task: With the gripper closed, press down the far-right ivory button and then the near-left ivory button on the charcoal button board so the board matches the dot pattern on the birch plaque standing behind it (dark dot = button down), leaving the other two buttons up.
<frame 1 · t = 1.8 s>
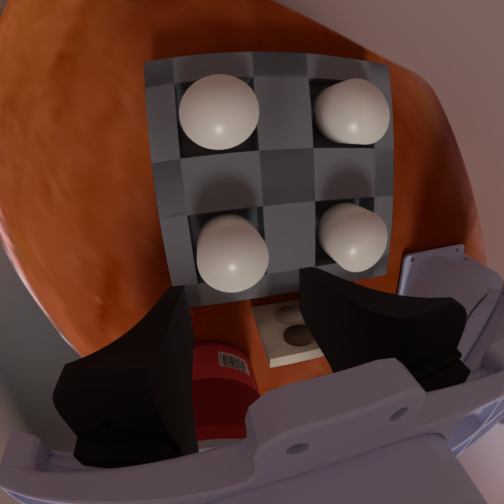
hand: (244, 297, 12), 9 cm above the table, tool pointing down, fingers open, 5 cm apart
button board: (275, 171, 20), on the table
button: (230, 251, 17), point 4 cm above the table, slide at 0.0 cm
canned food: (209, 368, 26), on the table
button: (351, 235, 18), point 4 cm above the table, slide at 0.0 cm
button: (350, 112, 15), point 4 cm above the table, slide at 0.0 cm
pattern plaque: (304, 302, 24), on the table
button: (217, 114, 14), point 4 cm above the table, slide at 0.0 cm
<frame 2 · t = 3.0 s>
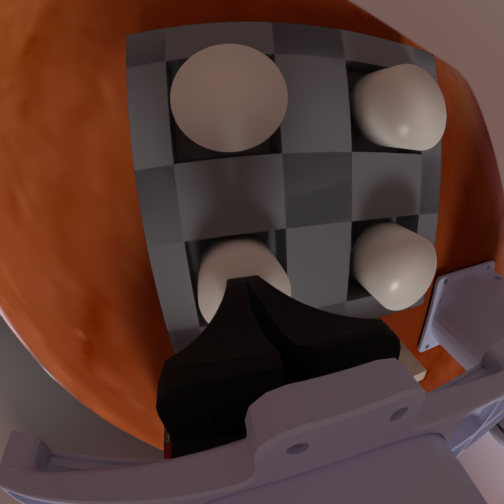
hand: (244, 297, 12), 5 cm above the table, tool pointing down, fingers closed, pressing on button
button board: (298, 180, 16), on the table
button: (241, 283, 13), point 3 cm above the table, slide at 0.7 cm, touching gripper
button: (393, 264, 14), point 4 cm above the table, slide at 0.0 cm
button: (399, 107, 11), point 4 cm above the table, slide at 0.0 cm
pattern plaque: (325, 335, 20), on the table
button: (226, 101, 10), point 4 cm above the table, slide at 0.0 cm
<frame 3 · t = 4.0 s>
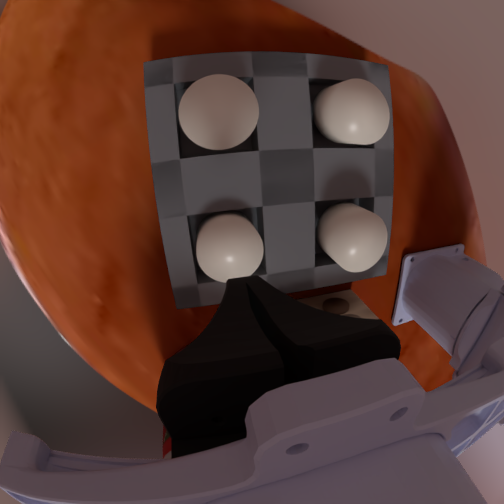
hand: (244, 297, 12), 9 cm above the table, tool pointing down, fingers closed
button board: (275, 171, 20), on the table
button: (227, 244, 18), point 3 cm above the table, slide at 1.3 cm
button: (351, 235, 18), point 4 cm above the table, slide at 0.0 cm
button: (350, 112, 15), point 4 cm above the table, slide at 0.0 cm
pattern plaque: (303, 302, 24), on the table
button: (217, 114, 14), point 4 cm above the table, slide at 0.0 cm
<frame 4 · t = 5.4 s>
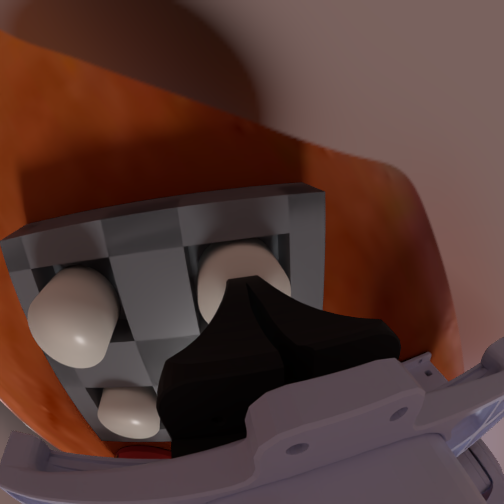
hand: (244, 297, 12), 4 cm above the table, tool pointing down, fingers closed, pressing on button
button board: (176, 330, 17), on the table
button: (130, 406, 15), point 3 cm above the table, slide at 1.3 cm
canned food: (151, 459, 22), on the table
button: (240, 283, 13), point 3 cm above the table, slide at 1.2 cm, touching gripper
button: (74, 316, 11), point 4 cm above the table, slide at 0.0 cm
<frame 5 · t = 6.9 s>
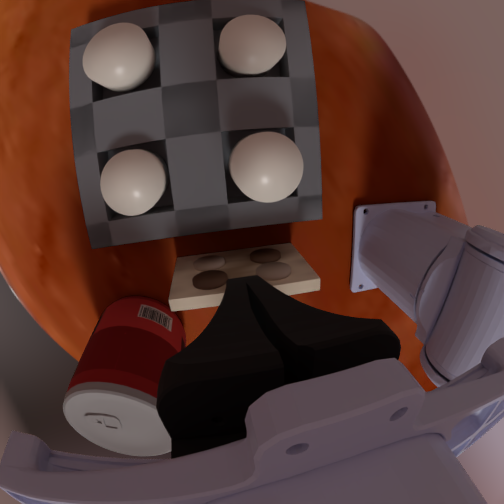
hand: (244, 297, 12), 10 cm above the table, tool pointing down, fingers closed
button board: (192, 113, 18), on the table
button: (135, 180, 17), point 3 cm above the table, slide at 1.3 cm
canned food: (143, 328, 24), on the table
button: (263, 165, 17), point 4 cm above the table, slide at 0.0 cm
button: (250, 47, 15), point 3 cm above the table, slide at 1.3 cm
pattern plaque: (234, 254, 23), on the table
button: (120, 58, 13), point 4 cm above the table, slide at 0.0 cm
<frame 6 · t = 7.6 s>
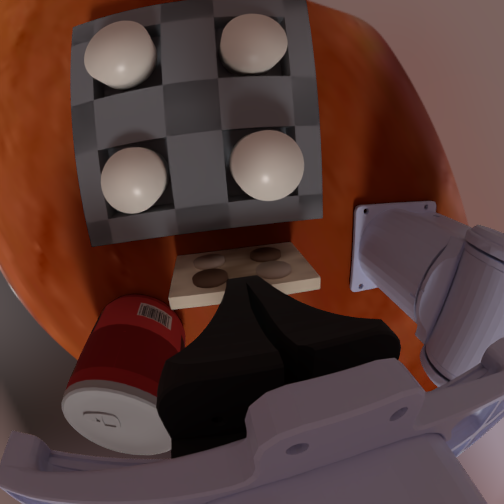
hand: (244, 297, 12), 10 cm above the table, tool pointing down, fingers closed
button board: (193, 112, 18), on the table
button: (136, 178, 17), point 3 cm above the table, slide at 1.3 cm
canned food: (142, 327, 24), on the table
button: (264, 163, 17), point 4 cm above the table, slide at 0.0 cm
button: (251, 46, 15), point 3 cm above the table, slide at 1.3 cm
pattern plaque: (235, 253, 23), on the table
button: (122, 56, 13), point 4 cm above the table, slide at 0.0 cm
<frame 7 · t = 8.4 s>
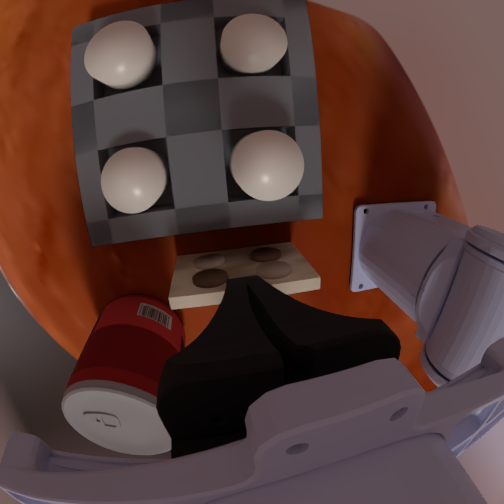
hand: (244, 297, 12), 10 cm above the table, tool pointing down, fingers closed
button board: (193, 112, 18), on the table
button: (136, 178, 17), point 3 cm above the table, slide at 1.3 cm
canned food: (142, 327, 24), on the table
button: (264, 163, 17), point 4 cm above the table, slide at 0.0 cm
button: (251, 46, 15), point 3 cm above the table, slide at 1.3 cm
pattern plaque: (235, 253, 23), on the table
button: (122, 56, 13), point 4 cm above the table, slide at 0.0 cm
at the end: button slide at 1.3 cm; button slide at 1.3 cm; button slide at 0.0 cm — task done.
